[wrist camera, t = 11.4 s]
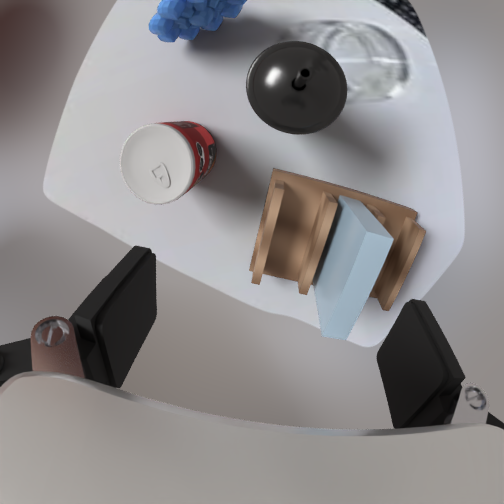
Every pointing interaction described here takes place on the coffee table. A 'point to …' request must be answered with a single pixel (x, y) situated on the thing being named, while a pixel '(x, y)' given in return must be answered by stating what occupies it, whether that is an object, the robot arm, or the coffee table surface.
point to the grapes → (191, 17)
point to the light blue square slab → (348, 266)
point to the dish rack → (326, 233)
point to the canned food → (166, 160)
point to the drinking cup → (296, 87)
